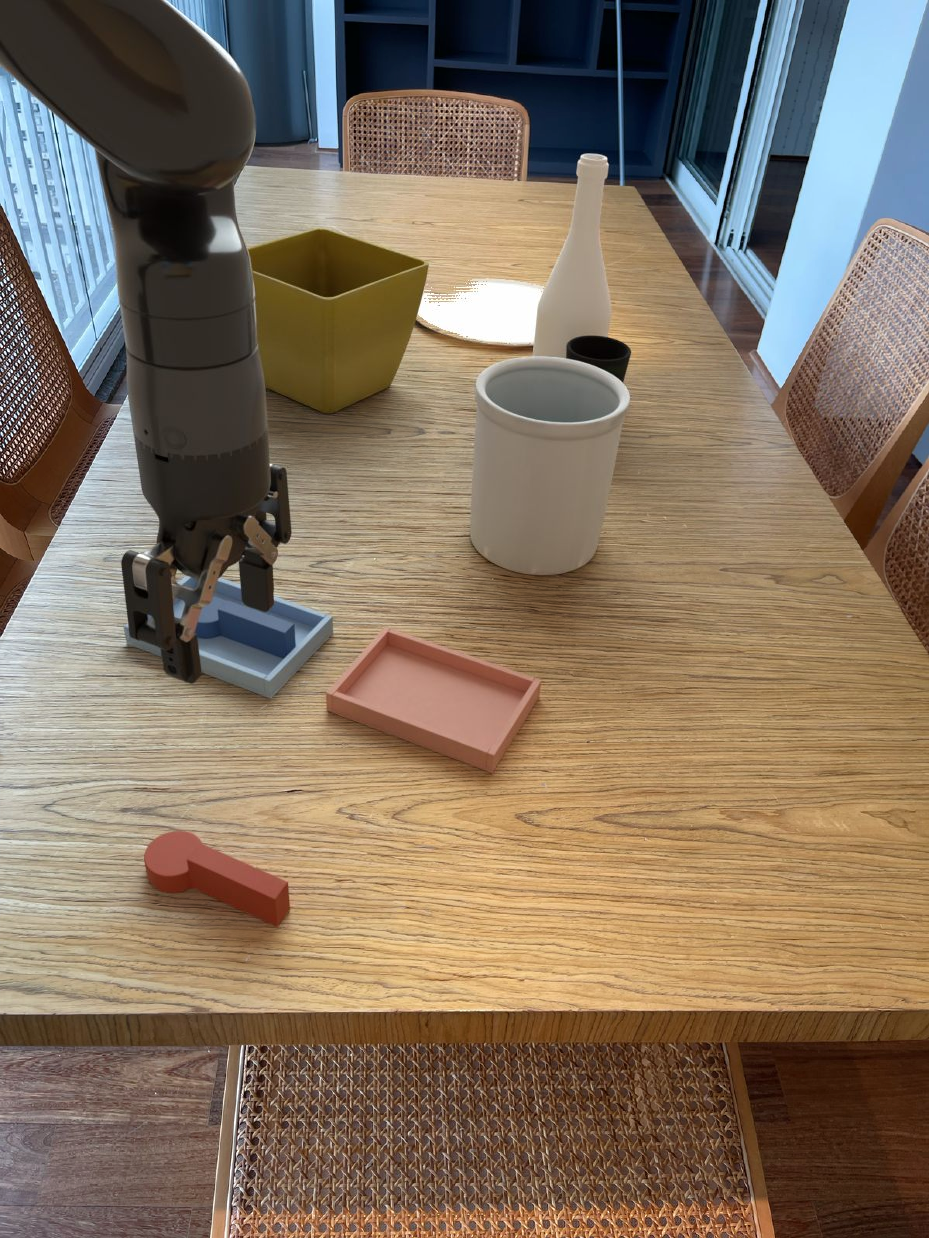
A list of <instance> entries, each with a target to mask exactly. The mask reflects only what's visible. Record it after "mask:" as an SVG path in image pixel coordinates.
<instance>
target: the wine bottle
mask: <svg viewBox="0 0 929 1238" xmlns="http://www.w3.org/2000/svg"><path fill="white" fill-rule="evenodd" d="M609 166H610V164H609V163H608V157H607V156H605V155H603V154H599V153H583V154H581V155H580V158H579V159H578V161H577V166H576V173H575V174H576V176H577V182H576V188H575V196H574V203H573V210H572V216H571V224H570V228H569V230H568V234H567V237H566V238H565V241H564V244H563V246H562V248H561V250H560V253H559V255H558V257H557V259H556V261H555V264H554V266H553V268H552V271H551V273H550V275H549V277H548V278H547V281H546V283H545V284H546V286H545V288H544V290H543V293H542V295H541V298H540V300H539V303H538V308H537V318H536V327H535V337H534V346H532V347H533V348H532V356H545V357H558V358H565V359H566V345H567V343H568V342H569V341H570V340H571V339H573V338H576V337H580V336H588V335H593V336H604V337H609V333H610V327H611V320H612V314H613V312H612V302H611V295H610V291H609V284H608V279H607V274H606V273H607V272H606V267H605V261H604V256H603V251H602V244H601V235H600V233H601V232H600V225H601V217H602V207H603V198H604V189H605V180H606V179H607V178H608V174H609Z"/></svg>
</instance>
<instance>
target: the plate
mask: <svg viewBox="0 0 929 1238" xmlns="http://www.w3.org/2000/svg"><path fill="white" fill-rule="evenodd" d="M468 281H469V280H468ZM470 281H478V282H476V283H475V282H473V283H472V282H471V284H477V285H475V286H473V285H472V287H471V286H469V287H468V286H467V287H456V288H473V289H470V290H456V291H473V292H466V293H464V292H462V293H461V292H459V294H458V293H456V294H448V295H455V297H453V296H452V297H442V298H456V299H451V300H450V299H448V300H446V299H444V300H442V299H440V300H438V299H436V300H433V299H431V300H429V299H428V298H437V297H436V296H435V297H432V296H427V295H439V294H434V293H431V294H430V293H424V292H423V296H422V300H421V304H420V307H419V311H418V315H419V316H420V317H422V318H423V319H424V320H426V321H427V322H428V323H430V324H433V325H435V326H437V327H439V328H441V329H443V330H446V331H450V332H453V333H457V334H460V335H459V336H463V338H467V339H476V340H478V341H483V342H500V343H501V342H502V343H507V344H509V343H510V344H513V345H504V344H488V343H482V342H476V341H470V340H464V339H460V338H457V337H453V336H450V335H447V334H443V333H440V332H438V331H436V330H434V329H432V328H429V327H427V326H425V325H423V324H422V323H421V322H419V321H418V320H417V319H416V322H418V323H419V324H420V325H422V326H423V327H424V328H426V329H429V330H431V331H433V332H435V333H437V334H439V335H441V336H445V337H449V338H453V339H456V340H459V341H461V342H467V343H473V344H479V345H484V346H485V345H486V346H495V347H512V348H519V347H533V346H534V337H535V327H536V318H537V308H538V303H539V300H540V298H541V295H542V293H543V290H544V289H543V288H545V287H544V286H540V285H536V284H533V285H531V284H532V283H527V282H520V281H514V280H505V279H489V278H486V279H472V280H470ZM483 281H484V282H483ZM486 281H487V282H486ZM466 284H467V283H466ZM469 284H470V283H469ZM478 284H479V285H478ZM481 284H483V285H481ZM485 284H486V285H485ZM431 288H432V287H431ZM454 288H455V287H454ZM474 288H476V289H474ZM477 288H478V289H477ZM424 291H431V290H424ZM454 291H455V290H454ZM474 291H476V292H474ZM477 291H478V292H477ZM541 291H542V292H541ZM440 295H447V294H440ZM456 295H458V296H457V297H456ZM459 295H460V296H459ZM424 298H426V299H424ZM438 298H441V296H440V297H438ZM457 298H459V299H457ZM461 298H462V299H461ZM465 298H466V299H465ZM425 301H426V302H425ZM429 301H454V302H439V303H438V302H435V303H434V302H431V303H429ZM455 301H456V302H455ZM438 305H440V306H438ZM466 336H468V337H466ZM529 343H531V344H530V345H517V344H529Z"/></svg>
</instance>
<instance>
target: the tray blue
mask: <svg viewBox="0 0 929 1238" xmlns="http://www.w3.org/2000/svg"><path fill="white" fill-rule="evenodd" d="M198 582H199V580H198V579H195V578H192V577H189V576H186V575H184V577H182V578H181V579H180V580H179V581H178V582H177V583H178V584H179V585H182V586H185V587H188V588H191V589H195V588H196V587H197V585H198ZM213 597H218V598H221V599H223V600H225V601H231V602H234V603H237V604H240V605H243V606H246V605H245V604H244V603H243V602H242V596H241V584H240V583H237V582H235V581H233V580H232V581H231V580H229V579H226V578H223V577H220V578H219V579H218V581H217V584H216V588H215V591H214V594H213ZM184 606H185V603H184V601H183V600H181V599H178V598H176V599H175V601H174V604H173V607H174V617H177V618H179V619H181V616H182V613H183V609H184ZM246 607H248V606H246ZM248 608H251V607H248ZM251 609H254V608H251ZM254 610H257V609H254ZM257 611H260V610H257ZM260 612H263V611H260ZM263 613H266V614H268V615H271V616H274V617H277V618H280V619H283V620H285V621H288V622H291V623H294V624H295V642H296V647H295V648H294V649H293V650H292V651H291V652H290V653H289V654H288V655H287V656H286V657H285V658H284V659H283V658H281V657H278V656H275V655H272V654H270V653H267V652H264V651H261V650H259V649H256V648H253V647H250V646H248V645H245V644H242V643H239V642H237V641H234V640H231V639H228V638H226V637H223V636H221V635H220V636H218V637H214V638H198V637H197V638H198V646H199V655H200V663H201V671H202V674H205V675H207V676H210V677H212V678H215V679H218V680H221V681H223V682H226V683H229V684H231V685H234V686H236V687H238V688H242V689H245V690H246V691H249V692H252V693H254V694H257V695H260V696H263V697H265V698H268V699H272V698H273V697H274V696H275V695H277V693H278V692H279V691H280V690H281V689H282V688H283V687H284V686H285V685H286V684H287V683H288V682H289V681H290V680H291V678H292V677H294V675H295V674H296V673H297V672H298V671H299V670H300V669H301V668H302V667H303V666H304V665H305V664H306V663H307V662H308V660H309V659H311V657H312V656H313V655H315V653H316V652H317V651H318V650H319V649H320V648H321V647H322V646H323V645H324V644H325V642H327V641H328V639H329V638H331V636H332V635H333V634H334V617H333V615H330V614H327V613H324V612H321V611H318V610H315V609H312V608H310V607H307V606H305V605H301V604H298V603H295V602H292V601H290V600H287V599H284V598H280V597H278V596H275V595H274V605H273V606H272V607H271V608H270V609H269V610H268V611H267V612H263ZM151 617H152V616H150V615H148V620H150V619H151ZM123 632H124V637H125V643H126V644H127V645H129V646H132V647H134V648H136V649H140V650H142V651H145V652H148V653H150V654H153V655H155V656H158V657H160V658H162V656H161V649H160V648H159V647H157V646H154V645H151V644H148V643H146V642H143V641H138V640H135V639H133V638H131V637H130V634H129V626H128V622H127V623H126V624H124V625H123Z"/></svg>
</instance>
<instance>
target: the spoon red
mask: <svg viewBox="0 0 929 1238" xmlns="http://www.w3.org/2000/svg"><path fill="white" fill-rule="evenodd" d="M143 862H144V866H145V872H146V875H147V880H148V882H149V884H150V885H151V886H152V887H153V888H155V889H156V890H158V891H161V892H164V893H170V894H171V893H172V894H173V893H181V892H184V891H187V890H189V889H191V888H192V889H194V890H196V891H199V892H200V893H202V894H205V895H207V896H209V897H211V898H213V899H216V900H218V901H220V902H222V903H224V904H226V905H228V906H231V907H233V908H235V909H237V910H240V911H242V912H244V913H246V914H248V915H251V916H253V917H255V918H257V919H259V920H261V921H263V922H265V923H267V924H269V925H272V926H274V927H276V928H278V927H279V925H280V924H281V923H282V921H283V920H284V919H285V917H286V916H287V914H288V913H289V912H290V911H291V905H290V904H291V903H290V890H289V889H290V888H289V881H287V880H284V879H282V878H280V877H278V876H276V875H273V874H271V873H269V872H266V871H264V870H262V869H259V868H257V867H255V866H253V865H251V864H248V863H247V862H244V861H243V860H239V859H237V858H235V857H233V856H230V855H228V854H226V853H223V852H222V851H219V850H217V849H215V848H213V847H210V846H208V845H205V844H204V843H203V842H202V840H201V839H200V837H198V835H196V834H194V833H192V832H189V831H186V830H185V831H184V830H173V831H168V832H165V833H163V834H160V835H159V836H157V837H156V838H154V839H153V840H152V841H151V842H150V843H149V844H148V846H147V847H146V849H145V852H144V855H143Z"/></svg>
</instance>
